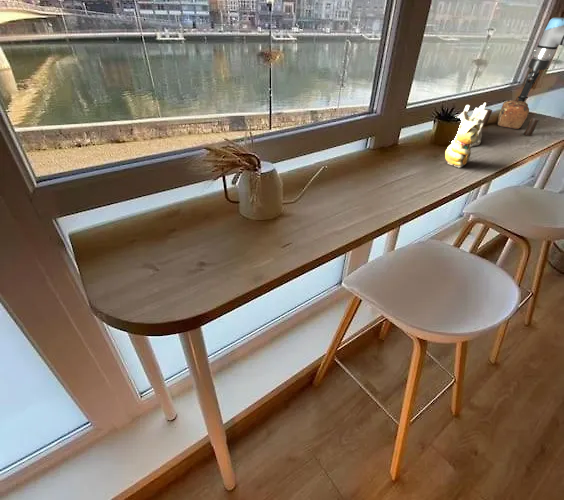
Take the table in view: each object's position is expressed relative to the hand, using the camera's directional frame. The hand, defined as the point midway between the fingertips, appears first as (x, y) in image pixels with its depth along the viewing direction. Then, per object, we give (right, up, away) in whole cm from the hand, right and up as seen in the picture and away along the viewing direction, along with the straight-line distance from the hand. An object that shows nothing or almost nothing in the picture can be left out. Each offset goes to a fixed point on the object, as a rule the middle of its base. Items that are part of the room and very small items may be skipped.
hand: (515, 111), depth 165 cm
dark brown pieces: (-15, -14, -14) cm, 25 cm away
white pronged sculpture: (-43, -23, -26) cm, 55 cm away
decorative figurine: (-56, -39, -47) cm, 83 cm away
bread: (-8, -8, -5) cm, 12 cm away
